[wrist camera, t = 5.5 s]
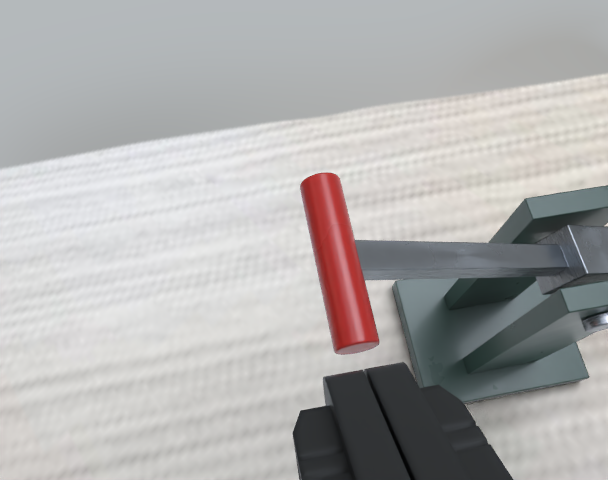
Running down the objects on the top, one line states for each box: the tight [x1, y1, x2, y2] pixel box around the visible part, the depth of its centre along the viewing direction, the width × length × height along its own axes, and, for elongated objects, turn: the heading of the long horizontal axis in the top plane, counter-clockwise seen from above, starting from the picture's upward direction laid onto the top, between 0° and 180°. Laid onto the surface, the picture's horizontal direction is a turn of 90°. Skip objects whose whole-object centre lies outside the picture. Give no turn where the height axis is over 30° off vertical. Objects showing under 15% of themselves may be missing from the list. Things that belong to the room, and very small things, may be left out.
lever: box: [300, 173, 608, 355], centre depth 22 cm, size 14×6×2 cm, turn 100°
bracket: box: [392, 185, 608, 404], centre depth 29 cm, size 10×8×14 cm
